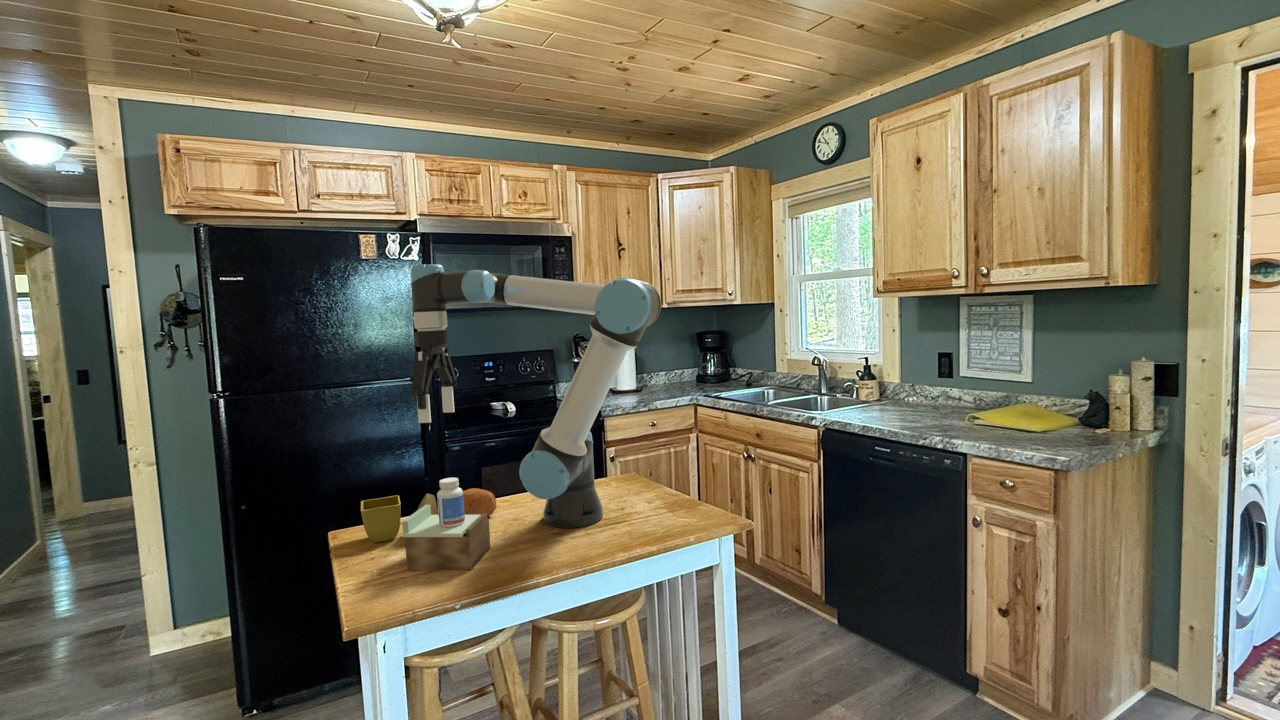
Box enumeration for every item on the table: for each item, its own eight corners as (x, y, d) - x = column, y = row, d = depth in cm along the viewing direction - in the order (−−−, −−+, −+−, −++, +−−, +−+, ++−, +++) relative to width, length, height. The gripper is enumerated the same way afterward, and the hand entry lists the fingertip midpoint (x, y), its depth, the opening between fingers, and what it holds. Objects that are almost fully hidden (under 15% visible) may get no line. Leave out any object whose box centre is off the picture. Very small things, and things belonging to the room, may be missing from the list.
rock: (451, 531, 149) (453, 513, 158) (425, 507, 146) (429, 489, 156) (415, 561, 148) (419, 540, 158) (388, 537, 146) (395, 518, 155)
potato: (468, 525, 159) (466, 496, 159) (449, 515, 168) (447, 488, 167) (500, 516, 165) (499, 488, 165) (481, 507, 174) (479, 480, 173)
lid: (481, 518, 143) (480, 503, 143) (460, 537, 131) (459, 521, 131) (427, 518, 144) (426, 504, 144) (402, 537, 133) (401, 522, 132)
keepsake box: (490, 548, 144) (488, 512, 143) (471, 570, 132) (468, 531, 131) (431, 548, 145) (429, 512, 144) (407, 569, 133) (404, 531, 132)
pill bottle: (470, 521, 138) (467, 478, 138) (451, 529, 134) (448, 484, 133) (453, 517, 141) (450, 475, 141) (433, 525, 137) (430, 481, 136)
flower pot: (363, 548, 147) (360, 510, 146) (363, 536, 155) (360, 500, 154) (403, 541, 150) (400, 504, 150) (401, 529, 158) (399, 494, 158)
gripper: (438, 328, 163) (443, 408, 165) (390, 332, 139) (397, 427, 141) (466, 327, 163) (471, 408, 164) (422, 331, 138) (429, 427, 140)
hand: (437, 417), depth 153 cm, fingers open, 13 cm apart
